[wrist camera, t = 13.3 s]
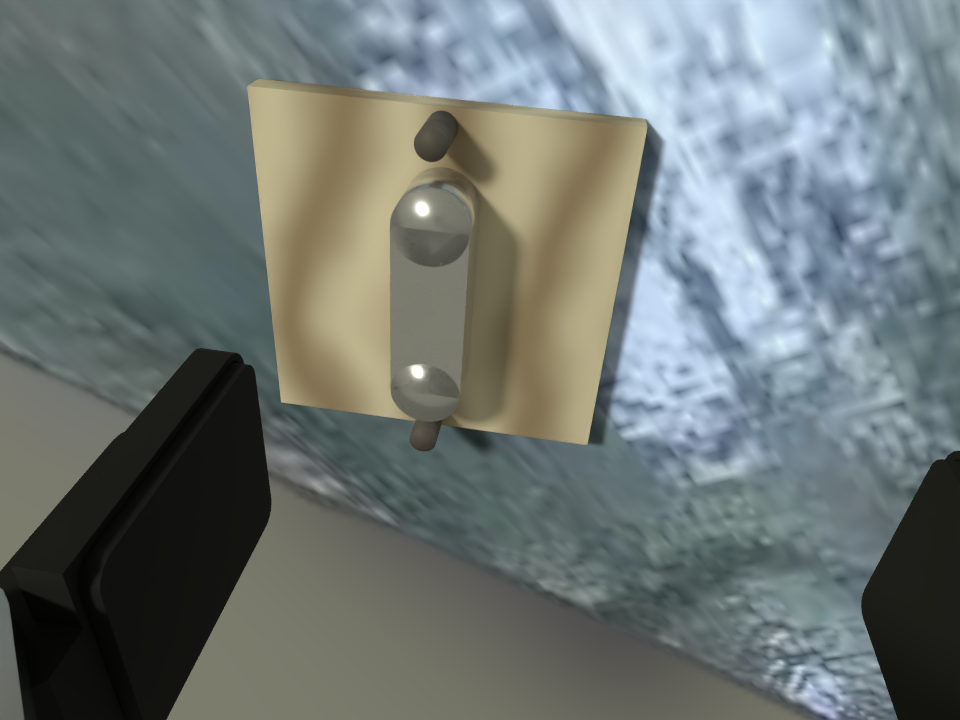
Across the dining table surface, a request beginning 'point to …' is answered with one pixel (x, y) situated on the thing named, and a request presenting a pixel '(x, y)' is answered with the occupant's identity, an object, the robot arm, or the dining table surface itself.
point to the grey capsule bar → (432, 292)
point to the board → (500, 249)
